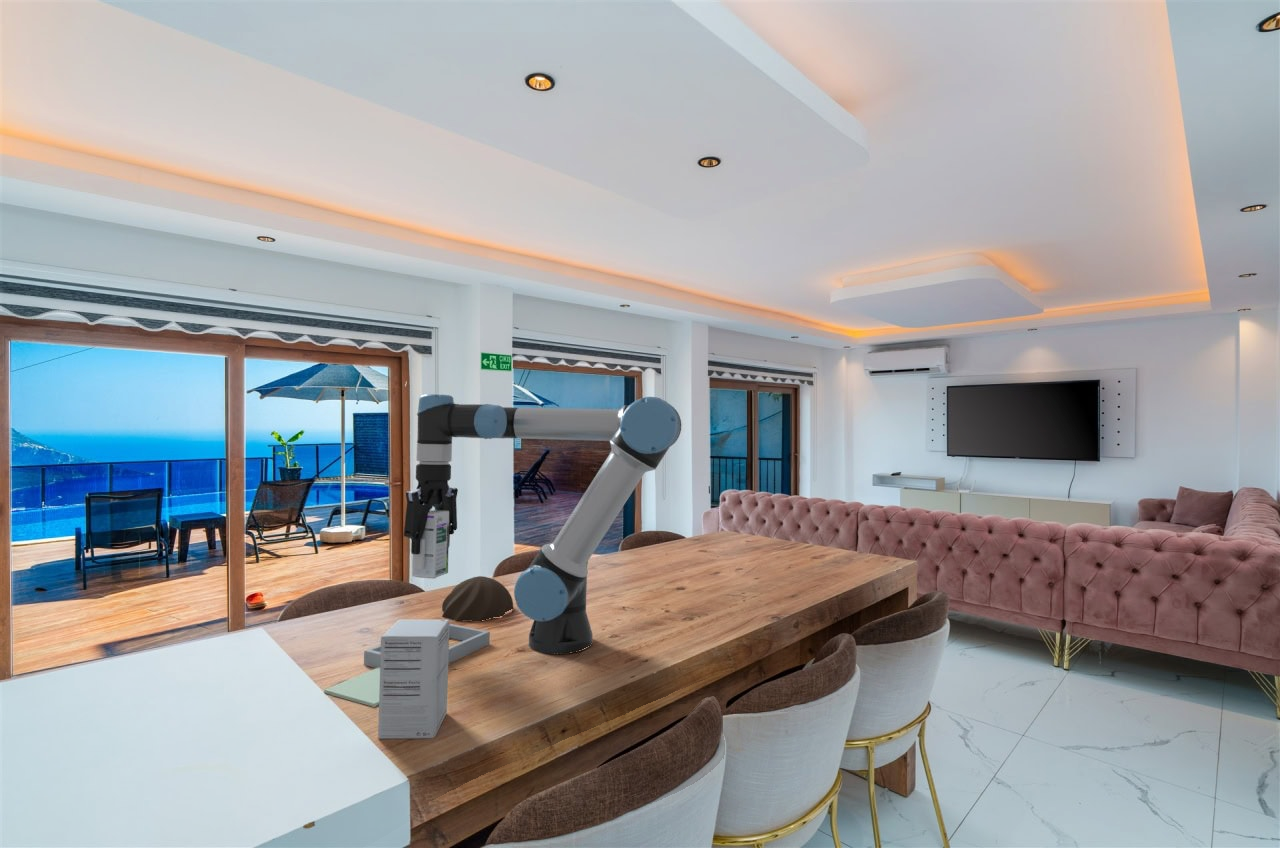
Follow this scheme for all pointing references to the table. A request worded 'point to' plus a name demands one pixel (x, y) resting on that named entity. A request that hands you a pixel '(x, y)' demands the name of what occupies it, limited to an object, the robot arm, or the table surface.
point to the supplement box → (413, 679)
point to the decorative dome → (477, 600)
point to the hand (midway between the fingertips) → (430, 565)
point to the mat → (359, 688)
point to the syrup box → (435, 545)
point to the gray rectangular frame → (469, 644)
